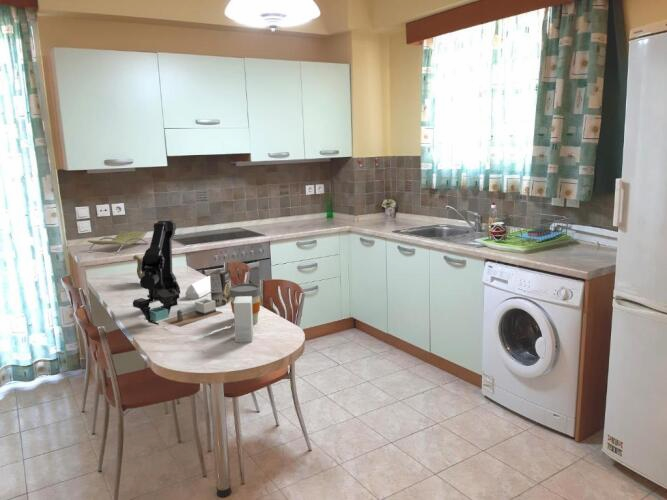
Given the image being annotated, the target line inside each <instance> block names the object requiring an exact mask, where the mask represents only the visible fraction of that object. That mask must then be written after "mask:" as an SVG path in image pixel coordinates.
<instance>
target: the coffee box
mask: <svg viewBox="0 0 667 500" xmlns="http://www.w3.org/2000/svg"><path fill="white" fill-rule="evenodd" d="M209 276H210V285H211V292H210V300H213V301H215V305H216V306H219V307H224V306H226V305H228V304H229V303H231V297H230V287H232V282H231V280H232V278H231V269H223V268H222V269H216V270H214V271H212V272H210V273H209Z"/></svg>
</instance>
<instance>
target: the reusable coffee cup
mask: <svg viewBox="0 0 667 500" xmlns="http://www.w3.org/2000/svg"><path fill="white" fill-rule="evenodd" d="M261 293H262V291H261V286H260V285H258V284H256V283H240V284H235V285H231V287H230V297H231V301H230V307H231V312H232V314H234V300H235V297H240V296H252V315H253V326H255V325H257V324H258V321H259V312H260V309H261V299H260V296H261Z"/></svg>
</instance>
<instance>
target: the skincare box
mask: <svg viewBox="0 0 667 500" xmlns="http://www.w3.org/2000/svg"><path fill="white" fill-rule="evenodd" d="M233 315H234V322H233V323H234V340H235V341H234V342H235V344H236V343H252V342H253V338H254V325H253V315H252V296H240V297H235V300H234V313H233Z"/></svg>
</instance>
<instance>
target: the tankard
mask: <svg viewBox="0 0 667 500" xmlns="http://www.w3.org/2000/svg"><path fill="white" fill-rule="evenodd" d="M132 259H133V260H134V261H135V260H136V261H137V263H136V264H137V267H136V274H137V277H138V279H139V280H141V278H142V277H143V276H144V273H145V272H141V268H142V259H143V258H142V257H140V256H139V255H137V254H135V255H133V257H132ZM145 267H146V266H145ZM161 271H162V270H161ZM139 285H140V287H142V286H141V284H139ZM142 288H143V287H142Z"/></svg>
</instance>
